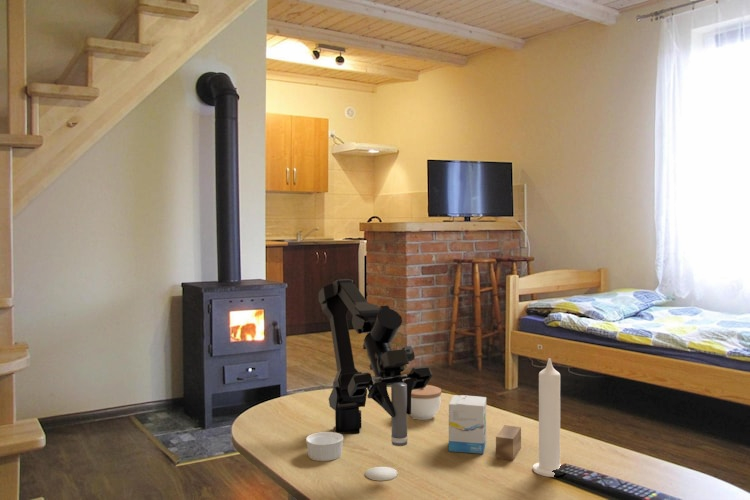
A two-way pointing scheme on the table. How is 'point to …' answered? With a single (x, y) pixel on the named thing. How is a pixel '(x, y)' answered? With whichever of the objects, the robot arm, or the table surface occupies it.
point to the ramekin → (324, 446)
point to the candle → (549, 422)
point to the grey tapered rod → (399, 414)
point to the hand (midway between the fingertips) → (401, 415)
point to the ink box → (467, 424)
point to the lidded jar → (425, 402)
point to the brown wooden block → (508, 442)
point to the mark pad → (381, 473)
